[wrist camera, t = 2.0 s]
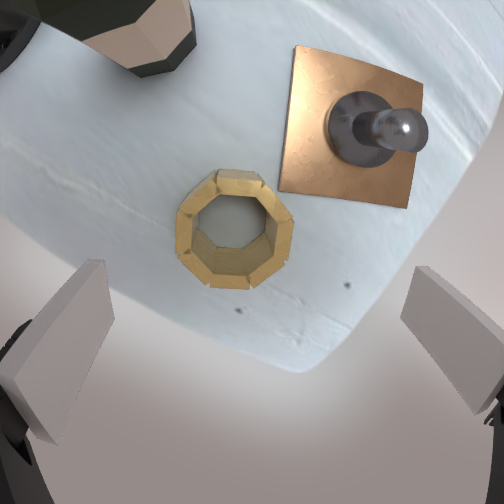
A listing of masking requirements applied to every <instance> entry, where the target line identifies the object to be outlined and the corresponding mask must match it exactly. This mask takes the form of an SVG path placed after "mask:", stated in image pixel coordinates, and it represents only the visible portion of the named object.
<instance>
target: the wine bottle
mask: <svg viewBox="0 0 504 504" xmlns="http://www.w3.org/2000/svg"><path fill="white" fill-rule="evenodd" d="M10 5H11V7H12V8H14V9H16V10H18V11H21V12H23V13H25V14H27V15H29V16H31V17H33V18H36V19H38V20H40V21H42V22H44V23H46V24H48V25H50V26H52V27H54V28H56V29H58V30H59V31H61V32H63V33H65V34H67V35H69V36H71V37H73V38H74V39H76V40H78V41H80V42H82V43H83V44H85V45H87V46H89V47H90V48H92V49H94V50H96V51H97V52H99V53H101V54H103V55H104V56H106V57H108V58H109V59H111V60H113V61H114V62H116V63H117V64H119V65H121V66H123V67H124V68H126V69H127V70H129V71H131V72H132V73H134V74H136V75H137V76H139V77H140V78H143V77H147V76H151V75H155V74H160V73H164V72H169V71H174V70H175V69H176V68H177V67H178V66H179V64H180V63H181V62H182V61H183V60H184V59H185V57H186V56H187V55H188V54H189V53H190V52H191V51H192V50H193V48H194V47H195V46H196V45H197V43H196V33H195V23H194V16H193V12H192V9H191V5H190V2H189V0H10Z"/></svg>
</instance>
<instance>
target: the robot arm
mask: <svg viewBox="0 0 504 504" xmlns="http://www.w3.org/2000/svg"><path fill="white" fill-rule="evenodd" d="M39 23H40V20H38V19H36V18H33V17H31V16H29V15H27V14H25V13H23V12H21V11H18V10H16V9H14V8H12V7H11V5H10V0H0V72H1V71H2V70H4V69H5V68H6V67H7V66H8V65H9V64H10V63H11V62H12V61H13V60H14V59H15V58H16V57H17V56H18V55H19V54H20V52H21V51H22V50H23V49H24V47H25V46H26V44H27V43H28V42H29V40H30V39H31V37H32V36H33V34H34V32H35V31H36V29H37V27H38V25H39ZM400 318H401V320H402V321H403V322H404V323H405V324H406V326H407V327H408V328H409V329H410V331H411V332H412V333H413V334H414V335H415V336H416V338H417V339H418V340H419V342H420V343H421V344H422V345H423V347H424V348H425V349H426V350H427V352H428V353H429V354H430V356H431V357H432V358H433V359H434V361H435V362H436V363H437V365H438V366H439V367H440V368H441V370H442V371H443V372H444V374H445V375H446V376H447V378H448V379H449V380H450V382H451V383H452V384H453V386H454V387H455V389H456V390H457V391H458V393H459V394H460V395H461V397H462V398H463V400H464V401H465V403H466V404H467V405H468V407H469V408H470V410H471V411H472V412H473V414H474V415H477V414H479V413H481V412H483V411H484V410H486V409H487V408H488V407H489V406H490V404H491V403H492V402H493V400H494V399H495V397H496V398H497V400H498V401H499V402H498V403H497V405H496V406H495V407H494V409H493V410H492V411H491V413H490V414H489V415H488V416H487V418H486V419H485V421H484V424H486V423H487V422H488V421H489V420H490V419H491V418H493V420H492V421H491V422H490V423H489V425H490V426H494V438H493V454H492V464H491V473H490V481H489V487H488V493H487V498H486V503H485V504H504V330H503V329H502V328H501V327H500V326H499V325H497V324H496V323H495V322H494V321H493V320H492V319H491V318H490V317H489V316H487V315H486V314H485V313H484V312H483V311H482V310H481V309H479V308H478V307H477V306H476V305H475V304H474V303H473V302H472V301H470V300H469V299H468V298H467V297H466V296H465V295H463V294H462V293H461V292H460V291H459V290H457V289H456V288H455V287H454V286H452V285H451V284H450V283H449V282H447V281H446V280H445V279H444V278H442V277H441V276H440V275H439V274H437V273H436V272H435V271H434V270H432V269H431V268H430V267H428V266H416V267H415V271H414V274H413V278H412V281H411V285H410V288H409V292H408V295H407V298H406V301H405V304H404V307H403V310H402V313H401V316H400ZM114 319H115V318H114V313H113V309H112V304H111V299H110V293H109V287H108V281H107V275H106V269H105V262H104V260H87V261H86V262H85V263H84V264H83V265H82V266H81V267H80V268H79V269H78V270H77V271H76V272H75V273H74V274H73V276H71V278H70V279H69V280H68V281H67V282H66V283H65V284H64V285H63V286H62V287H61V288H60V289H59V291H58V292H57V293H56V294H55V295H54V296H53V297H52V298H51V300H50V301H49V302H48V303H47V304H46V305H45V307H44V308H43V309H42V310H41V311H40V312H39V314H38V315H37V316H36V317H35V318H34V319H33V320H32V319H30V320H29V321H27V322H26V323H24V324H23V325H21V326H20V327H19V328H18V329H17V330H16V331H15V332H14V334H13V335H12V336H11V339H9V340H8V341H7V343H6V344H5V347H2V349H1V350H0V504H54V502H53V499H52V497H51V495H50V493H49V491H48V489H47V486H46V484H45V482H44V479H43V477H42V474H41V472H40V470H39V467H38V464H37V462H36V459H35V456H34V453H33V450H32V447H31V445H30V442H29V440H28V438H27V436H26V435H25V434H26V432H27V430H28V428H30V430H31V431H32V432H33V433H34V435H35V436H36V437H37V438H38V439H40V440H43V441H46V442H48V443H52V444H55V445H58V444H59V440H60V438H61V435H62V433H63V430H64V428H65V425H66V423H67V420H68V418H69V415H70V413H71V410H72V408H73V406H74V403H75V401H76V399H77V396H78V394H79V392H80V389H81V387H82V385H83V383H84V381H85V378H86V376H87V374H88V372H89V370H90V368H91V365H92V363H93V361H94V359H95V357H96V355H97V353H98V351H99V349H100V347H101V345H102V343H103V341H104V338H105V337H106V335H107V333H108V331H109V329H110V327H111V325H112V323H113V321H114Z"/></svg>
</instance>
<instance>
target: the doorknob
mask: <svg viewBox="0 0 504 504" xmlns="http://www.w3.org/2000/svg"><path fill="white" fill-rule="evenodd" d="M422 99H423V84H422V83H420V82H417V81H415V80H413V79H410V78H408V77H405V76H403V75H400V74H398V73H395V72H392V71H389V70H387V69H384V68H381V67H378V66H375V65H372V64H369V63H366V62H363V61H359V60H356V59H353V58H349V57H346V56H342V55H338V54H334V53H330V52H326V51H322V50H318V49H313V48H309V47H304V46H299V45H296V46H295V48H294V55H293V65H292V74H291V83H290V93H289V102H288V110H287V119H286V128H285V136H284V145H283V153H282V161H281V169H280V177H279V185H278V190H279V191H284V192H293V193H302V194H310V195H318V196H326V197H334V198H341V199H348V200H355V201H362V202H368V203H374V204H381V205H387V206H393V207H398V208H404V209H407V205H408V200H409V195H410V190H411V185H412V179H413V174H414V168H415V161H416V155H417V152H419V151H420V150H422V149H423V148H424V146H425V145H426V143H427V140H428V126H427V123H426V120H425V119H424V117H423V116H422V114H421V112H422Z"/></svg>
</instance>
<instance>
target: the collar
mask: <svg viewBox="0 0 504 504" xmlns="http://www.w3.org/2000/svg"><path fill="white" fill-rule="evenodd" d="M219 194H223V195H237V196H249V197H256V198H257V199H258V200H259V201H260V202H261V204H262V205H263V206H264V207H265V209H266V210H267V214H266V222H265V230H264V233H263V234H261V235H260V236H259V237H257V238H256V239H255V240H254V241H252V242H251V243H250V244H249V245H247V246H246V247H245V248H244V249H238V248H224V247H216V246H215V245H214V244H213V243H212V242H211V241H210V240H209V239H208V238H207V237H206V236H205V235H204V233H203V232H202V231H201V230H200V229H199V228H198V216H199V211H200V210H201V209H203V208H204V207H205V206H206V205H207V204H208V203H210V202H211V201H212V200H213V199H214V198H216V197H217V196H218V195H219ZM292 217H293V216H292V215H291V214H290V213H289V211H288V210H287V209H286V207H285V206H284V205H283V204H282V202H281V201H280V200H279V199H278V197H277V196H276V195H275V194H274V192H273V191H272V190H271V189H270V188H269V186H268V185H267V184H266V183H265V181H264V180H263V179H262V178H261V177H260V176H259V174H257V175H256V174H255V172H250V171H239V170H227V169H219V172H218V173H217V172H216V171H213V172H212V173H211V174H210V175H209V176H208V177H206V178H205V179H204V180H203V181H202V182H201V183H199V184H198V185H197V186H196V187H195V188H194V189H193V190H191V191H190V192H189V193H188V195H187V196H186V198H185V199H184V201H183V202H182V204H181V205H180V207H179V210H178V211H177V213H176V253H179V255H178V259H179V260H180V261H181V262H182V263H183V264H184V265H185V266H186V267H187V268H188V269H189V270H190V271H191V272H192V273H193V274H194V275H195V276H196V277H197V278H198V279H199V280H200V281H201V282H202V283H203V284H204V285H206V284H208V283H209V282H210V287H211V288H227V289H245V290H249V287H250V285H251V286H252V287H253V288H255V287H256V286H258V285H259V284H260V283H262V282H263V281H264V280H266V279H267V278H268V277H270V276H271V275H272V274H274V273H275V272H276V271H278V270H279V269H280V268H282V267H283V266H284V265H285V263H284V261H283V260H288V257H289V251H290V244H291V238H292V232H293V225H294V221H293V220H292Z"/></svg>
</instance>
